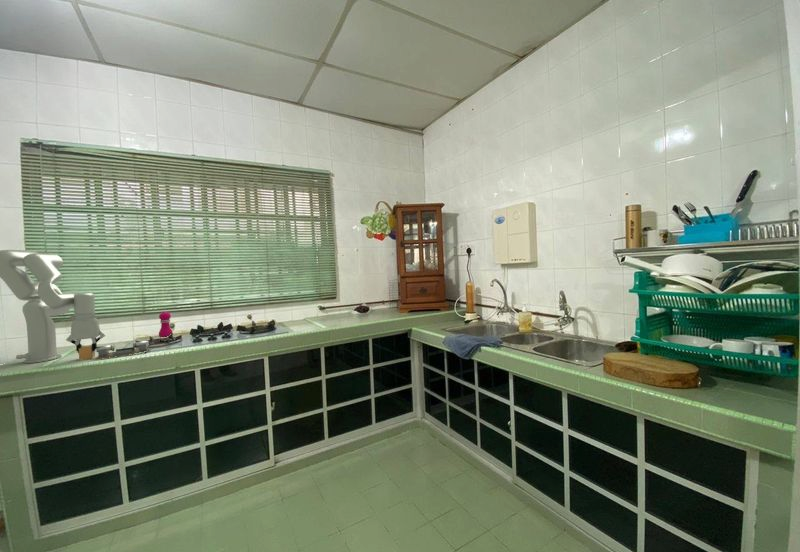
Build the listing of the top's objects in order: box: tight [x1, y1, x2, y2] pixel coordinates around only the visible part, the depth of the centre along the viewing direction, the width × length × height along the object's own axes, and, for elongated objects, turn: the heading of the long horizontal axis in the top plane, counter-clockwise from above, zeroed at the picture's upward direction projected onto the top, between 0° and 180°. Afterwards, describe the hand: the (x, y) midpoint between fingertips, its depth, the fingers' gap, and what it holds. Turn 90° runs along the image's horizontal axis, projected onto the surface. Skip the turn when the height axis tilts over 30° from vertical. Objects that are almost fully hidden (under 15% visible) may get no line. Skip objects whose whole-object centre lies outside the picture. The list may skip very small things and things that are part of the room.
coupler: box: [78, 344, 96, 361], centre depth 158 cm, size 6×5×6 cm
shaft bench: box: [95, 340, 150, 360], centre depth 164 cm, size 21×10×6 cm, turn 124°
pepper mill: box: [158, 309, 174, 338], centre depth 195 cm, size 7×7×20 cm
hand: (86, 351), depth 158 cm, fingers closed on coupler, 4 cm apart
